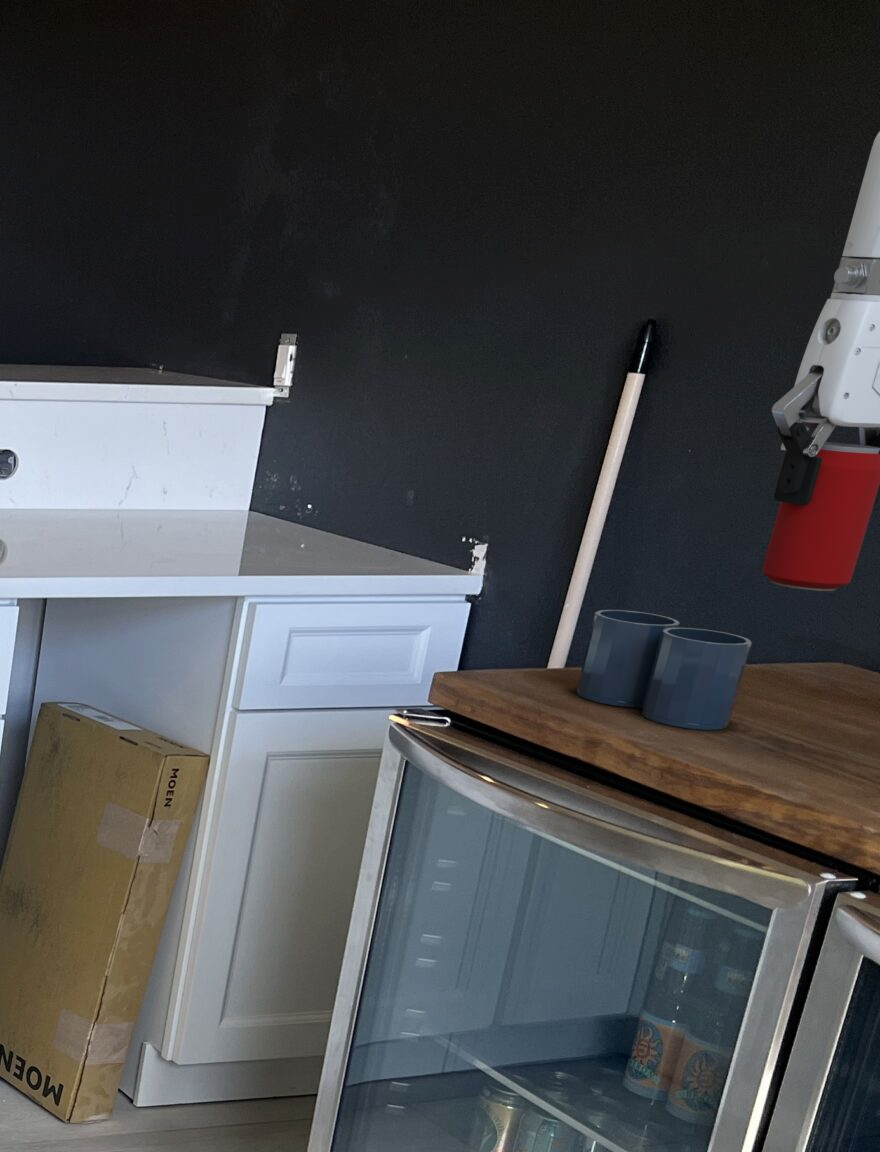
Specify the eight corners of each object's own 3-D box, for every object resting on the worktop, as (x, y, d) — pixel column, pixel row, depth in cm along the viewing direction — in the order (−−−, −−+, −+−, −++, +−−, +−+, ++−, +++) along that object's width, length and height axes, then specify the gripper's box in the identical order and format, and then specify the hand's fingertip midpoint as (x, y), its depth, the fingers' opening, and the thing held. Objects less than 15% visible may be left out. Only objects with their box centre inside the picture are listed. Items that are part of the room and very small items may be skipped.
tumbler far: (651, 695, 186) (672, 615, 183) (662, 711, 180) (684, 628, 176) (572, 686, 188) (591, 606, 185) (580, 701, 182) (600, 619, 179)
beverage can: (842, 586, 166) (883, 446, 161) (853, 596, 160) (896, 451, 155) (755, 576, 168) (793, 438, 164) (763, 586, 162) (802, 443, 158)
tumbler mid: (720, 716, 179) (742, 633, 176) (733, 733, 172) (758, 648, 169) (636, 706, 181) (657, 624, 178) (647, 723, 174) (669, 638, 171)
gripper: (846, 282, 149) (783, 509, 156) (1009, 289, 154) (940, 510, 161) (767, 277, 156) (710, 496, 162) (925, 285, 161) (863, 496, 167)
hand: (825, 501), depth 162 cm, fingers closed on beverage can, 6 cm apart
